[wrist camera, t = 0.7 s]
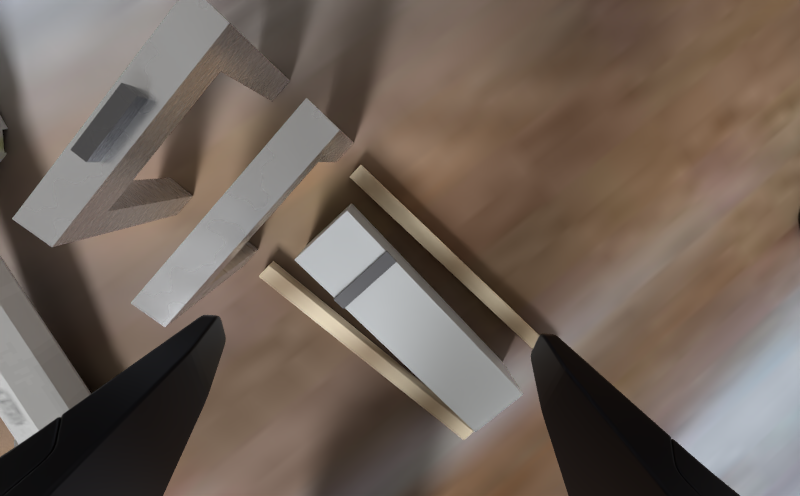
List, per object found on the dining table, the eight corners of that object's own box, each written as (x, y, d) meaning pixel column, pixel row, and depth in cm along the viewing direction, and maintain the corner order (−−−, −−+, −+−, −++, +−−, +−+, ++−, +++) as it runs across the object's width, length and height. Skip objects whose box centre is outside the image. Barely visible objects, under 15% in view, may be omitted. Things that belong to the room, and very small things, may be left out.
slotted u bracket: (354, 142, 21) (338, 128, 12) (242, 266, 23) (155, 334, 14) (267, 59, 20) (179, -25, 11) (154, 196, 21) (-6, 221, 12)
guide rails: (552, 347, 26) (559, 354, 25) (460, 430, 27) (463, 440, 26) (361, 164, 22) (360, 164, 21) (263, 271, 23) (258, 276, 22)
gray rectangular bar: (502, 359, 26) (524, 395, 22) (460, 393, 26) (475, 434, 22) (352, 201, 22) (347, 210, 18) (307, 244, 23) (293, 261, 19)
